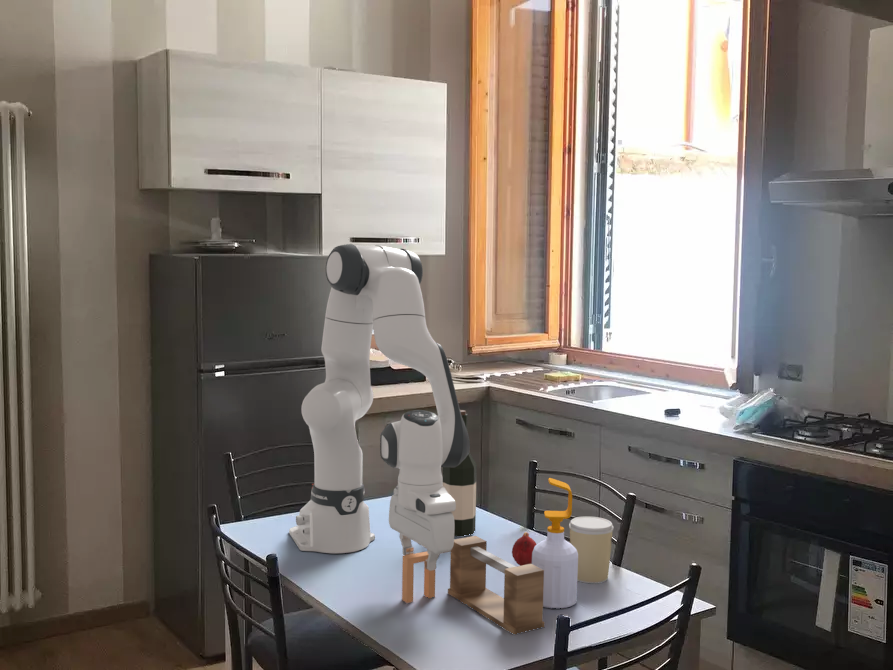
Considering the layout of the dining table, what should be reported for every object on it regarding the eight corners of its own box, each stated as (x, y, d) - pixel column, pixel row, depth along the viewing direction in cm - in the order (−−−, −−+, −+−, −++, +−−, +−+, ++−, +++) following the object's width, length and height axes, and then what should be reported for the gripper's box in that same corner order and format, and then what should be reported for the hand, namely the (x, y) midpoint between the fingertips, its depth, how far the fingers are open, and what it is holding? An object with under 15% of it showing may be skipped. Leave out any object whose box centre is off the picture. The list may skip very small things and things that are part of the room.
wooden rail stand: (447, 593, 192) (448, 540, 190) (476, 587, 195) (477, 535, 194) (513, 634, 172) (515, 576, 171) (544, 627, 176) (546, 569, 174)
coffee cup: (620, 579, 201) (622, 524, 200) (587, 588, 196) (589, 531, 195) (591, 566, 209) (593, 513, 208) (558, 574, 204) (560, 519, 202)
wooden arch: (402, 599, 188) (402, 555, 187) (429, 593, 191) (430, 550, 190) (406, 603, 186) (407, 558, 185) (434, 597, 189) (435, 553, 188)
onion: (536, 573, 204) (537, 537, 203) (510, 571, 205) (510, 535, 204) (539, 564, 209) (540, 529, 208) (513, 562, 210) (514, 527, 210)
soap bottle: (529, 591, 193) (532, 473, 191) (574, 593, 193) (578, 474, 190) (532, 608, 184) (535, 485, 182) (579, 610, 184) (583, 486, 182)
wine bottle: (454, 524, 238) (456, 406, 235) (482, 530, 233) (484, 410, 230) (434, 532, 231) (436, 411, 228) (462, 539, 226) (465, 415, 223)
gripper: (381, 483, 194) (380, 549, 195) (432, 509, 176) (430, 581, 178) (408, 480, 197) (407, 544, 198) (460, 504, 180) (459, 575, 181)
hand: (419, 562), depth 188 cm, fingers open, 8 cm apart
